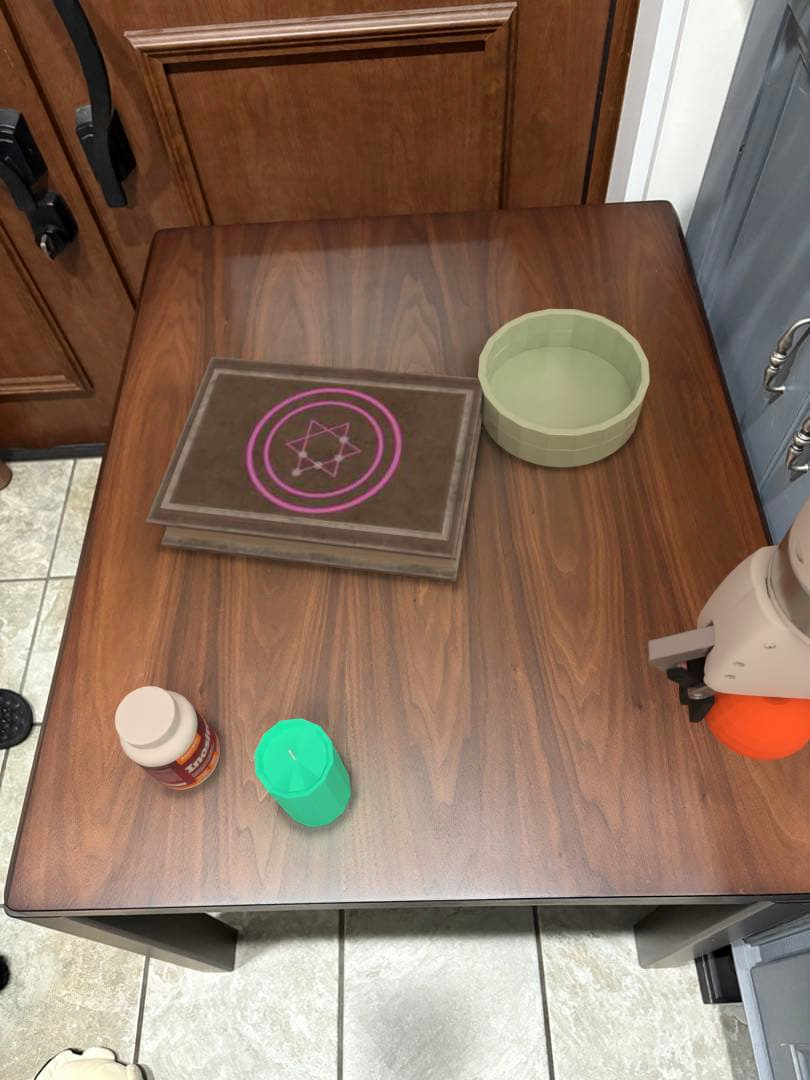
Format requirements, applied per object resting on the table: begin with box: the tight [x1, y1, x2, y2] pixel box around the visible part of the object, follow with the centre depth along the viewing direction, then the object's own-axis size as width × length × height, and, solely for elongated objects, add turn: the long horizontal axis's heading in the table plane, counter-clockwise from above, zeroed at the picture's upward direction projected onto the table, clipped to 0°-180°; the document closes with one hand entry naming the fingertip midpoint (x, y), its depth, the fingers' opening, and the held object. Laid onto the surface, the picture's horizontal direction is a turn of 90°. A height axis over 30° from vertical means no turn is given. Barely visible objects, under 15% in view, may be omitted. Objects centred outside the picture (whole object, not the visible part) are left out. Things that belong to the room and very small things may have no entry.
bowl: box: [477, 308, 651, 468], centre depth 85 cm, size 18×18×6 cm
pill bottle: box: [114, 685, 221, 791], centre depth 65 cm, size 6×6×11 cm
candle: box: [253, 717, 352, 828], centre depth 63 cm, size 6×6×12 cm
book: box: [145, 356, 483, 583], centre depth 83 cm, size 30×22×5 cm
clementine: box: [704, 692, 810, 761], centre depth 51 cm, size 8×7×7 cm
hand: (753, 703), depth 52 cm, fingers closed on clementine, 7 cm apart
